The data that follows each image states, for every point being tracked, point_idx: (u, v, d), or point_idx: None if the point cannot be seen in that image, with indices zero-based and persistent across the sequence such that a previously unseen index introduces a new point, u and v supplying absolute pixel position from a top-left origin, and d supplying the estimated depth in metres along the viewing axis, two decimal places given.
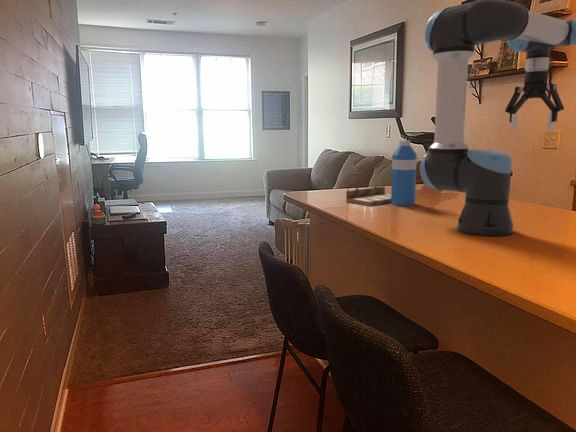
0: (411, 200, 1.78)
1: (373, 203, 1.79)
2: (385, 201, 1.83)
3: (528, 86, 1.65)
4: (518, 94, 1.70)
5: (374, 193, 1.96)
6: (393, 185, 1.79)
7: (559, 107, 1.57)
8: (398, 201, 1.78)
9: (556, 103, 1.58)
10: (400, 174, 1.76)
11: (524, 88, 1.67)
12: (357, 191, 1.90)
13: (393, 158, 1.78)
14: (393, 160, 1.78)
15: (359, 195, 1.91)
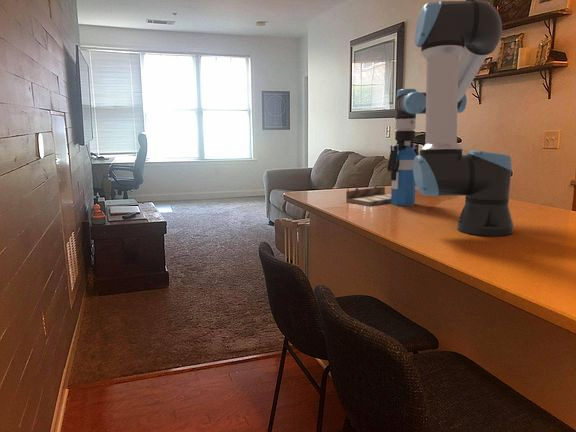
0: (411, 200, 1.78)
1: (373, 203, 1.79)
2: (385, 201, 1.83)
3: None
4: (414, 151, 1.81)
5: (374, 193, 1.96)
6: None
7: None
8: (398, 201, 1.78)
9: None
10: (400, 174, 1.76)
11: None
12: (357, 191, 1.90)
13: None
14: None
15: (359, 195, 1.91)
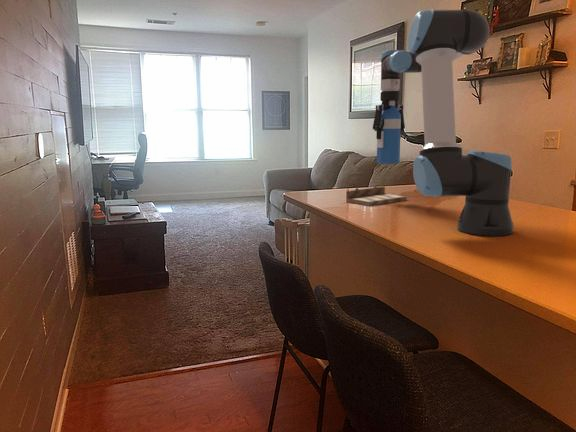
0: (396, 158, 1.85)
1: (373, 203, 1.79)
2: (385, 201, 1.83)
3: None
4: None
5: (374, 193, 1.96)
6: None
7: None
8: (383, 159, 1.85)
9: None
10: (385, 133, 1.83)
11: None
12: (357, 191, 1.90)
13: None
14: None
15: (359, 195, 1.91)
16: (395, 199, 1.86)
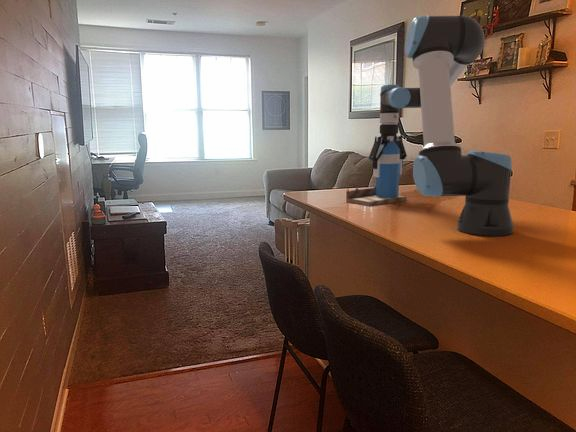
0: (394, 192, 1.87)
1: (373, 203, 1.79)
2: (385, 201, 1.83)
3: None
4: (398, 142, 1.91)
5: (374, 193, 1.96)
6: (378, 179, 1.89)
7: None
8: (382, 193, 1.88)
9: None
10: (384, 168, 1.85)
11: None
12: (357, 191, 1.90)
13: None
14: None
15: (359, 195, 1.91)
16: (395, 199, 1.86)
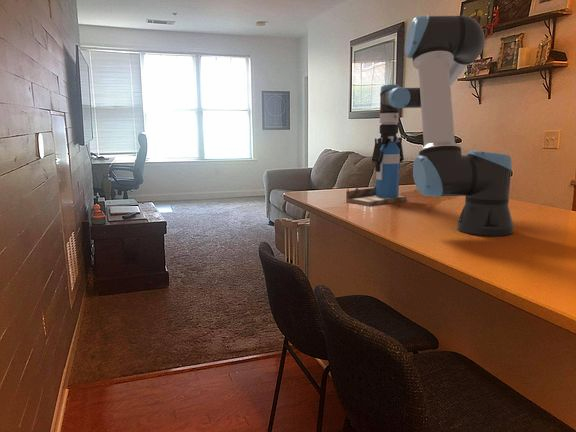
0: (394, 192, 1.87)
1: (373, 203, 1.79)
2: (385, 201, 1.83)
3: None
4: (397, 143, 1.91)
5: (374, 193, 1.96)
6: None
7: None
8: (382, 193, 1.88)
9: None
10: (384, 168, 1.85)
11: None
12: (357, 191, 1.90)
13: None
14: None
15: (359, 195, 1.91)
16: (395, 199, 1.86)
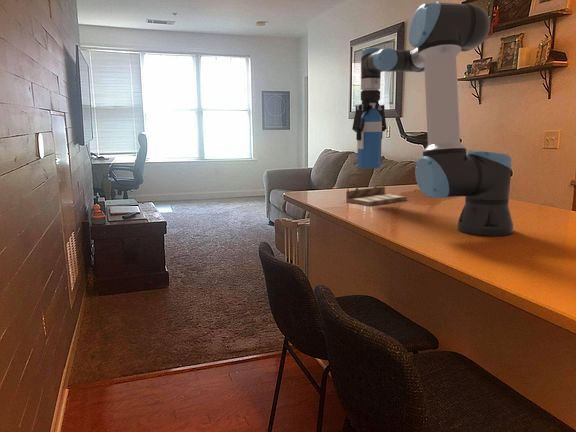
0: (376, 162, 1.79)
1: (373, 203, 1.79)
2: (385, 201, 1.83)
3: None
4: (380, 112, 1.82)
5: (374, 193, 1.96)
6: None
7: None
8: (364, 163, 1.79)
9: None
10: (366, 136, 1.77)
11: None
12: (357, 191, 1.90)
13: None
14: None
15: (359, 195, 1.91)
16: (395, 199, 1.86)
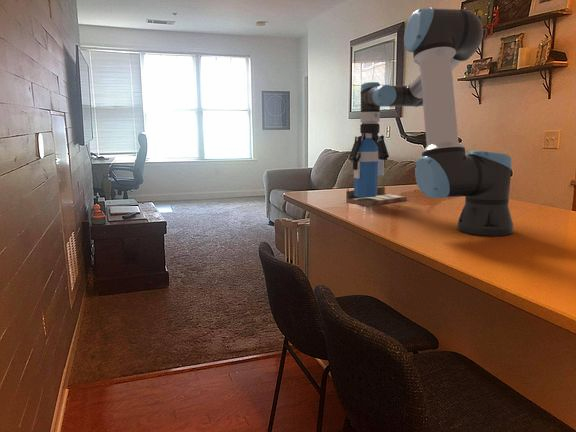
0: (373, 192, 1.80)
1: (373, 203, 1.79)
2: (385, 201, 1.83)
3: None
4: (380, 142, 1.84)
5: None
6: None
7: None
8: (360, 192, 1.80)
9: None
10: (362, 166, 1.78)
11: None
12: None
13: None
14: None
15: None
16: (395, 199, 1.86)
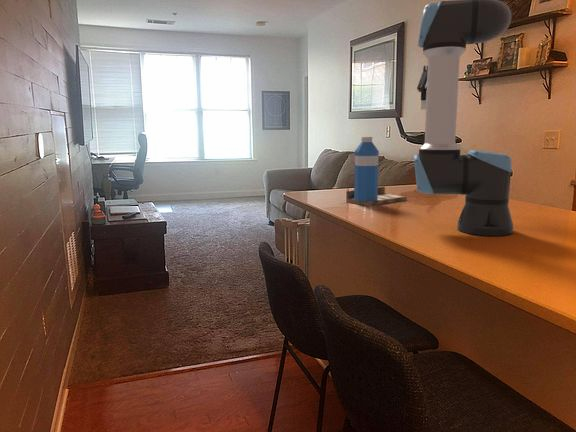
0: (373, 196, 1.80)
1: (373, 203, 1.79)
2: (385, 201, 1.83)
3: None
4: None
5: None
6: (356, 181, 1.81)
7: None
8: (360, 196, 1.80)
9: None
10: (362, 170, 1.78)
11: None
12: None
13: (355, 155, 1.80)
14: (355, 156, 1.80)
15: None
16: (395, 199, 1.86)
